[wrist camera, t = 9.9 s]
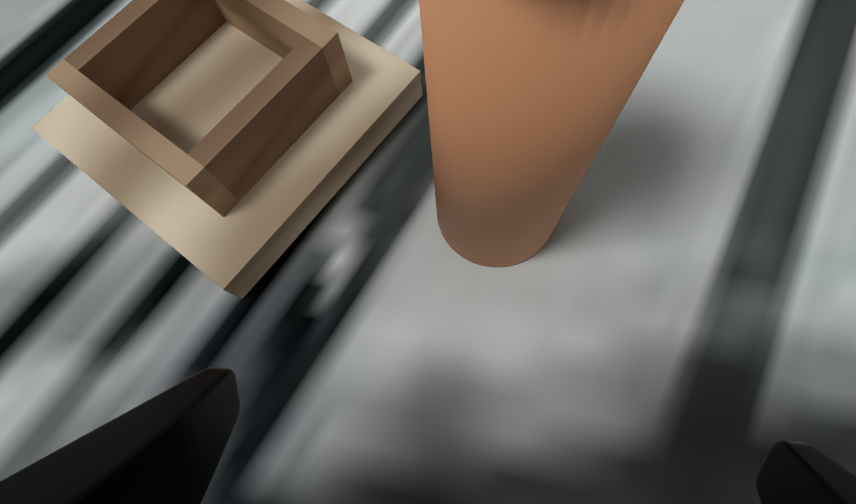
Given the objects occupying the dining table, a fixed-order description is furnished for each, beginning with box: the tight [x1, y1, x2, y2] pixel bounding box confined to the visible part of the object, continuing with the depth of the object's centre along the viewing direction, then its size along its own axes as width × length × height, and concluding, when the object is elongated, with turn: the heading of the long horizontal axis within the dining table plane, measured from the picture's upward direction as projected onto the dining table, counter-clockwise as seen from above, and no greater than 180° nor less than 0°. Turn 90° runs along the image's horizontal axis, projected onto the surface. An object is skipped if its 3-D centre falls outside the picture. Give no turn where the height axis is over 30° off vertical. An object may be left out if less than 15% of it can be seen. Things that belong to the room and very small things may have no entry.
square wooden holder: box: [32, 0, 423, 299], centre depth 18 cm, size 11×11×4 cm
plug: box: [419, 0, 684, 267], centre depth 11 cm, size 5×5×14 cm
